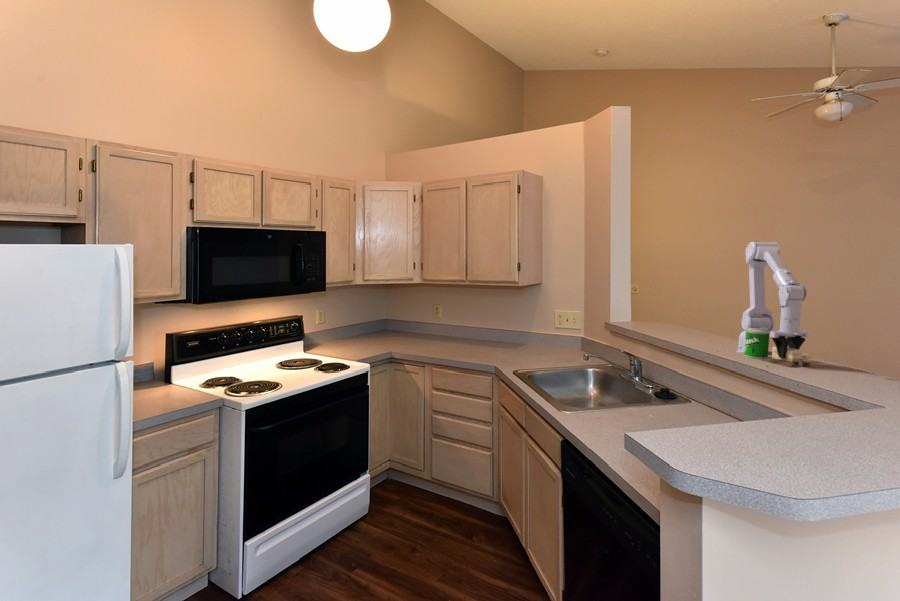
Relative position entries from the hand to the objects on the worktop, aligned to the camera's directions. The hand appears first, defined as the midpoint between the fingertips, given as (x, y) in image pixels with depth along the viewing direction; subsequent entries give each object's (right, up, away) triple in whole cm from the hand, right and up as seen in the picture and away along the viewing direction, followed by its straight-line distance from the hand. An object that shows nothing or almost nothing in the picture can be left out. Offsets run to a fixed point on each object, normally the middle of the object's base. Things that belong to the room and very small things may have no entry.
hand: (787, 357), depth 174 cm
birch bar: (0, -1, 0) cm, 1 cm away
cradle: (+5, -3, +1) cm, 6 cm away
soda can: (-5, -2, +10) cm, 12 cm away
